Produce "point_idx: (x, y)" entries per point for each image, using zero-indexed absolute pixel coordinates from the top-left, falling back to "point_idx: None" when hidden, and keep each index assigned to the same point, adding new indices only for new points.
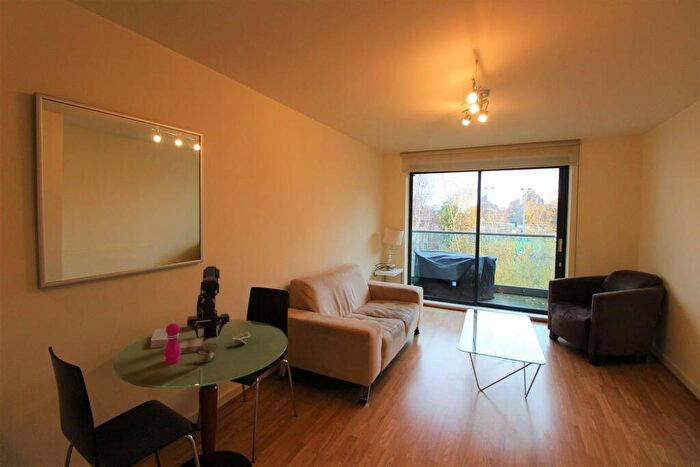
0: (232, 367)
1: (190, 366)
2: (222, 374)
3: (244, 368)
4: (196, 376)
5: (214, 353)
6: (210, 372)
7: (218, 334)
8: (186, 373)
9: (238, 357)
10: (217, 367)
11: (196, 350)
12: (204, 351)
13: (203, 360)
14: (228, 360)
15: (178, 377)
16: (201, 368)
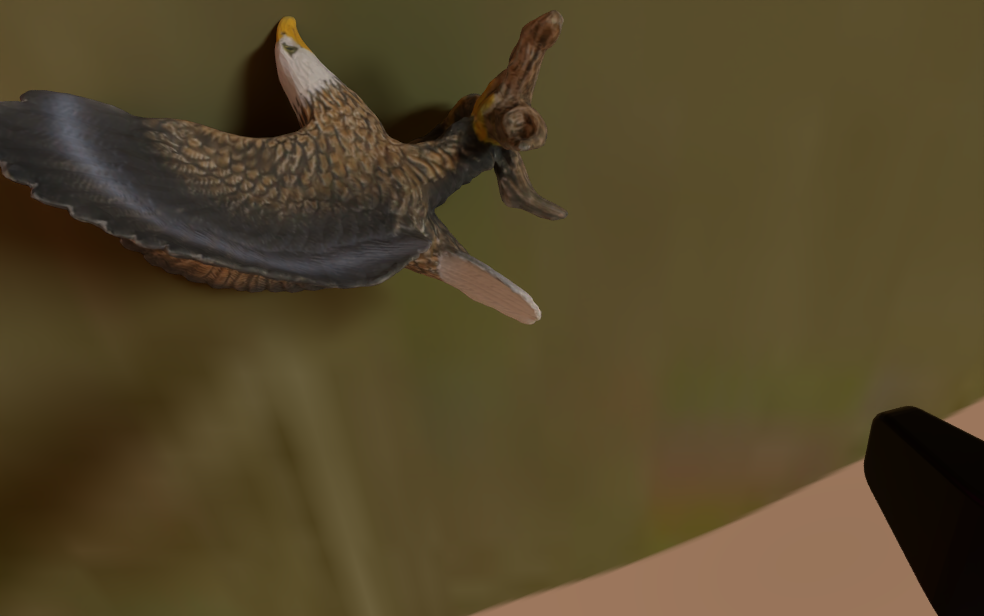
0: (776, 364)
1: (50, 314)
2: (626, 517)
3: (918, 391)
4: (281, 568)
5: (538, 205)
6: (464, 482)
7: (907, 537)
8: (87, 513)
9: (953, 29)
10: (560, 359)
11: (13, 151)
12: (300, 267)
13: (297, 285)
14: (756, 136)
15: (7, 601)
16: (296, 383)
